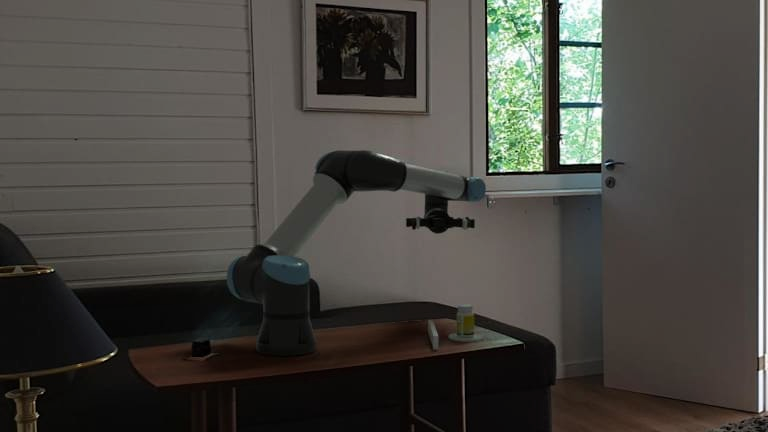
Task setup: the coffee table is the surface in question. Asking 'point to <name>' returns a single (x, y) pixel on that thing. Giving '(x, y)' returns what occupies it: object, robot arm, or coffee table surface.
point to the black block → (201, 347)
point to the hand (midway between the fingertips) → (442, 224)
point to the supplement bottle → (465, 321)
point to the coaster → (465, 338)
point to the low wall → (433, 334)
